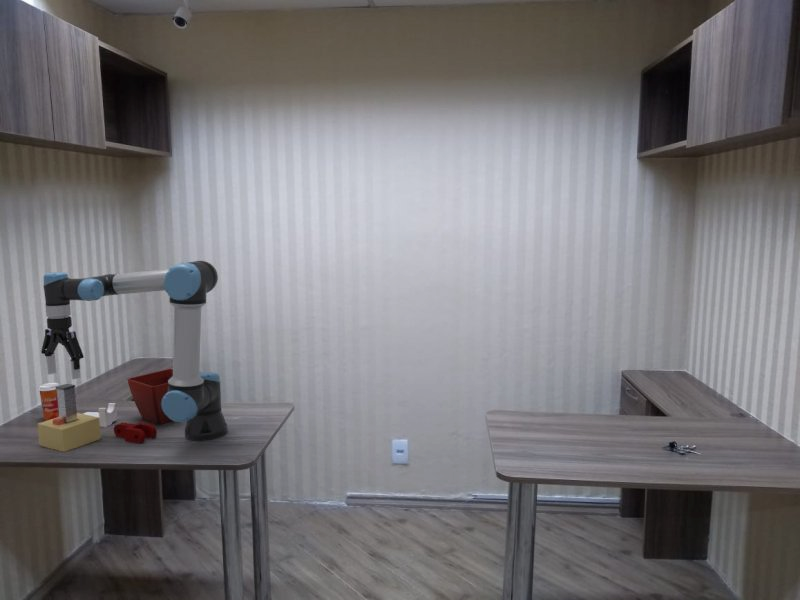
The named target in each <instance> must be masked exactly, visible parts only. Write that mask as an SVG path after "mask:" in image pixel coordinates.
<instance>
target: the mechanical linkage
mask: <svg viewBox="0 0 800 600" xmlns="http://www.w3.org/2000/svg"><path fill="white" fill-rule="evenodd" d="M113 433H114V435H115V436H116V437H117V438H123V439H124V441H125V442H128V443H133V444H139V445H140V444H142V443H143V442H145V440H146V439H153V438H154V437H156V436H157V435H158V430H157V428H156V426H155V425H154V424H152V423H147V422H140V421H139V422H136V423H131V422H130V423H129V422H123V421H122V422H120V423H117V424H115V425H114V427H113Z"/></svg>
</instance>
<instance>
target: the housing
mask: <svg viewBox="0 0 800 600" xmlns="http://www.w3.org/2000/svg"><path fill="white" fill-rule="evenodd" d="M37 432H38V433H37V434H38V443H39V446H40V447H44V448H48V449H51V450H54V449H55V451H58V450H59V452H62V451H63V452H62V453H66V452H68V450H69V451H71V450H73V448H74V449H77V448H79V447H82V446H85V445H89V444H91V443H93V442H96V441H98V440H101V437H102V436H101V435H102V434H101V427H100V423H99V417H94V416H90V415H85V414H84V413H80V412H77V421H74V422H71V423H68V424H64V421H63V419H60V418H59V417H57V418H54V419H51V420H48V421H45V420H44V421H43V422H38V423H37ZM70 449H71V450H70ZM65 451H66V452H65Z"/></svg>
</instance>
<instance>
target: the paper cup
mask: <svg viewBox="0 0 800 600" xmlns="http://www.w3.org/2000/svg"><path fill="white" fill-rule="evenodd" d="M56 386H60V383H58V382H49V383H43V384H40V385H39V387H38V391H39V396H40V403H41V408H42V414H43V419H44V421H48V420H51V419H54V418H57V417H59V408H58V398H57V389H56Z"/></svg>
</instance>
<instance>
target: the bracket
mask: <svg viewBox="0 0 800 600" xmlns="http://www.w3.org/2000/svg"><path fill="white" fill-rule="evenodd" d="M83 414H85V415H90V416H94V417H99V423H100V428H107V427H109V426H111V425H112V423H113V422H116V421H117V420H118V414H117V403H116V402H115V403H114V402H111V403H110V402H108V406H107V407H99V408H98V411H95V412H94V411H86V412H84V413H83Z"/></svg>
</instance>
